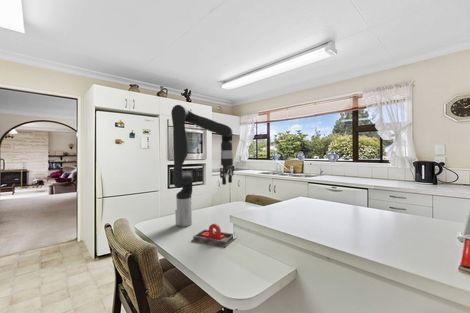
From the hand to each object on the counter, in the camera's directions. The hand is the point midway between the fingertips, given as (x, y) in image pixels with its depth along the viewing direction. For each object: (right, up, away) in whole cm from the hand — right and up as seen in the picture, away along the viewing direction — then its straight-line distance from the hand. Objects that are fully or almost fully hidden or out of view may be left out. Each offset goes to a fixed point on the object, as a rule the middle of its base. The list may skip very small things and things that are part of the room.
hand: (227, 183), depth 139 cm
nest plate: (-6, -27, -22) cm, 35 cm away
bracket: (-7, -26, -20) cm, 34 cm away
